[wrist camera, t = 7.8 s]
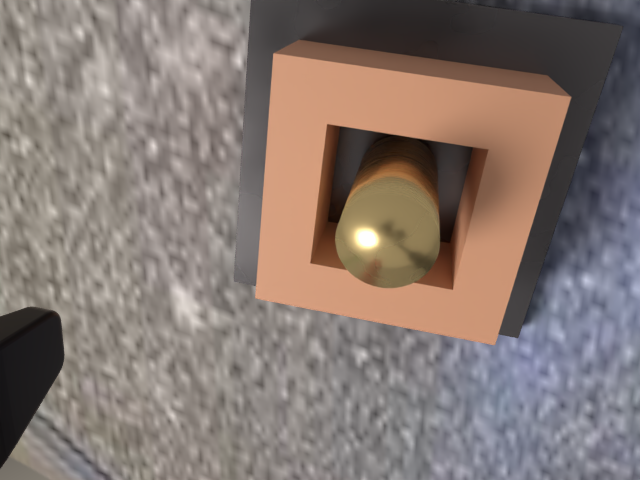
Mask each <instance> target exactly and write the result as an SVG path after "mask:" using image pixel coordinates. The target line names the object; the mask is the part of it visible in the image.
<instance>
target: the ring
mask: <svg viewBox="0 0 640 480" xmlns="http://www.w3.org/2000/svg"><path fill="white" fill-rule="evenodd" d="M570 100H571V96H570V95H569V94H568V93H566V92H565V91H564V90H563V89H562V88H561V87H560V86H559V85H558V84H556V83H555V82H554V81H553V80H552V79H551V78H550V77H549V76H548V75H541V74H534V73H528V72H521V71H514V70H507V69H500V68H493V67H486V66H479V65H472V64H465V63H458V62H451V61H444V60H437V59H430V58H423V57H416V56H409V55H402V54H395V53H388V52H381V51H374V50H367V49H360V48H353V47H346V46H339V45H332V44H325V43H318V42H311V41H304V40H298V41H296V42H294V43H292V44H290V45H288V46H286V47H284V48H282V49H281V50H279V51H277V52H275V53H273V65H272V79H271V92H270V106H269V119H268V133H267V146H266V160H265V173H264V187H263V201H262V214H261V228H260V241H259V255H258V268H257V282H256V295H255V298H256V299H261V300H266V301H271V302H276V303H282V304H287V305H292V306H297V307H302V308H307V309H312V310H317V311H322V312H328V313H333V314H338V315H343V316H348V317H353V318H358V319H363V320H369V321H374V322H379V323H384V324H389V325H394V326H399V327H404V328H409V329H415V330H420V331H425V332H430V333H435V334H440V335H445V336H450V337H455V338H461V339H466V340H471V341H476V342H481V343H486V344H491V345H495V343H496V340H497V337H498V333H499V330H500V327H501V324H502V320H503V317H504V314H505V311H506V307H507V304H508V301H509V298H510V294H511V291H512V288H513V285H514V282H515V278H516V275H517V272H518V269H519V265H520V262H521V259H522V256H523V252H524V249H525V246H526V243H527V239H528V236H529V233H530V230H531V226H532V223H533V220H534V217H535V213H536V210H537V207H538V204H539V200H540V197H541V194H542V191H543V187H544V184H545V181H546V178H547V174H548V171H549V168H550V165H551V161H552V158H553V155H554V152H555V149H556V145H557V142H558V139H559V136H560V132H561V129H562V126H563V123H564V119H565V116H566V113H567V110H568V106H569V103H570ZM340 126H343V127H350V128H356V129H362V130H368V131H375V132H381V133H387V134H394V135H400V136H406V137H412V138H419V139H425V140H431V141H438V142H444V143H450V144H456V145H463V146H469V147H473V150H472V154H471V158H470V162H469V166H468V170H467V174H466V179H465V183H464V187H463V191H462V195H461V199H460V204H459V208H458V212H457V216H456V220H455V224H454V228H453V233H452V237H451V241H450V243H446V242H440V248H439V254H438V257H437V259H436V261H435V263H434V265H433V267H432V268H431V269H430V270H429V272H428V273H427V274H426V275H425V276H423V277H422V278H421V279H419V280H418V281H416V282H414V283H412V284H409V285H407V286H403V287H398V288H381V287H376V286H372V285H369V284H366V283H364V282H362V281H360V280H359V279H357V278H356V277H354V276H353V275H352V274H351V273H350V272H349V271H348V270H347V269H346V268H345V266H344V265H343V264H342V262H341V260H340V258H339V256H338V253H337V249H336V243H335V236H336V230H337V226H338V223H333V222H328V214H329V207H330V199H331V192H332V184H333V176H334V169H335V161H336V153H337V146H338V138H339V131H340Z"/></svg>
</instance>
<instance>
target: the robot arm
mask: <svg viewBox="0 0 640 480" xmlns="http://www.w3.org/2000/svg"><path fill="white" fill-rule="evenodd" d="M63 362H64V345H63V335H62V325H61V319H60V316H59V314H58V313H57V312H55V311H53V310H48V309H43V308H38V307H27V308H24V309H21V310H18V311H15V312H12V313H9V314H6V315H3V316H0V468H1V467H2V466H3V464H4V463H5V461H6V460H7V459H8V457H9V455H10V454H11V452H12V451H13V449H14V448H15V446H16V444H17V443H18V441H19V439H20V438H21V436H22V434H23V433H24V431H25V429H26V428H27V426H28V424H29V423H30V421H31V419H32V418H33V416H34V414H35V413H36V411H37V409H38V408H39V406H40V404H41V403H42V401H43V399H44V398H45V396H46V394H47V393H48V391H49V389H50V388H51V386H52V384H53V383H54V381H55V379H56V378H57V376H58V374H59V372H60V371H61V368H62V366H63Z"/></svg>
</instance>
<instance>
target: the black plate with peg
mask: <svg viewBox="0 0 640 480" xmlns="http://www.w3.org/2000/svg"><path fill="white" fill-rule="evenodd" d="M622 29H623V26H621V25H617V24H611V23H604V22H596V21H589V20H582V19H575V18H568V17H561V16H554V15H546V14H539V13H532V12H525V11H518V10H511V9H504V8H496V7H489V6H482V5H475V4H468V3H461V2H454V1H447V0H251V9H250V26H249V42H248V58H247V74H246V91H245V107H244V123H243V140H242V156H241V172H240V188H239V205H238V221H237V237H236V253H235V270H234V282H239V283H244V284H249V285H254V286H256V282H257V268H258V255H259V241H260V228H261V214H262V201H263V187H264V173H265V160H266V146H267V133H268V119H269V106H270V92H271V79H272V65H273V53H275V52H277V51H279V50H281V49H282V48H284V47H286V46H288V45H290V44H292V43H294V42H296V41H298V40H304V41H311V42H318V43H325V44H332V45H339V46H346V47H353V48H360V49H367V50H374V51H381V52H388V53H395V54H402V55H409V56H416V57H423V58H430V59H437V60H444V61H451V62H458V63H465V64H472V65H479V66H486V67H493V68H500V69H507V70H514V71H521V72H528V73H534V74H541V75H548V76H549V77H550V78H551V79H552V80H553V81H554V82H555V83H556V84H558V85H559V86H560V87H561V88H562V89H563V90H564V91H565V92H566V93H568V94H569V95H570V96H571V100H570V103H569V106H568V110H567V113H566V116H565V119H564V123H563V126H562V129H561V132H560V136H559V139H558V142H557V145H556V149H555V152H554V155H553V158H552V161H551V165H550V168H549V171H548V174H547V178H546V181H545V184H544V187H543V191H542V194H541V197H540V200H539V204H538V207H537V210H536V213H535V217H534V220H533V223H532V226H531V230H530V233H529V236H528V239H527V243H526V246H525V249H524V252H523V256H522V259H521V262H520V265H519V269H518V272H517V275H516V278H515V282H514V285H513V288H512V291H511V294H510V298H509V301H508V304H507V307H506V311H505V314H504V317H503V320H502V324H501V327H500V330H499V333H498V334H500V335H505V336H510V337H515V338H518V337H519V334H520V331H521V328H522V325H523V322H524V319H525V316H526V313H527V310H528V307H529V304H530V301H531V298H532V295H533V292H534V289H535V286H536V283H537V280H538V278H539V275H540V272H541V269H542V266H543V263H544V260H545V257H546V254H547V251H548V248H549V245H550V242H551V239H552V236H553V233H554V230H555V227H556V224H557V221H558V218H559V215H560V212H561V209H562V207H563V204H564V201H565V198H566V195H567V192H568V189H569V186H570V183H571V180H572V177H573V174H574V171H575V168H576V165H577V162H578V159H579V156H580V153H581V150H582V147H583V144H584V141H585V138H586V136H587V133H588V130H589V127H590V124H591V121H592V118H593V115H594V112H595V109H596V106H597V103H598V100H599V97H600V94H601V91H602V88H603V85H604V82H605V79H606V76H607V73H608V70H609V68H610V65H611V62H612V59H613V56H614V53H615V50H616V47H617V44H618V41H619V38H620V35H621V32H622ZM472 150H473V147H469V146H463V145H456V144H450V143H444V142H438V141H431V140H425V139H419V138H412V137H406V136H400V135H394V134H387V133H381V132H375V131H368V130H362V129H356V128H350V127H343V126H340V131H339V138H338V146H337V153H336V161H335V169H334V176H333V184H332V192H331V199H330V207H329V214H328V222H333V223H338V226H337V230H336V236H335V243H336V249H337V253H338V256H339V258H340V260H341V262H342V264H343V265H344V266H345V268H346V269H347V270H348V271H349V272H350V273H351V274H352V275H353V276H354V277H356V278H357V279H359V280H360V281H362V282H364V283H366V284H369V285H372V286H376V287H381V288H398V287H403V286H407V285H409V284H412V283H414V282H416V281H418V280H419V279H421V278H422V277H423V276H425V275H426V274H427V273H428V272H429V270H430V269H431V268H432V267H433V265H434V263H435V261H436V259H437V257H438V254H439V248H440V242H446V243H450V241H451V237H452V233H453V228H454V224H455V220H456V216H457V212H458V208H459V204H460V199H461V195H462V191H463V187H464V183H465V179H466V174H467V170H468V166H469V162H470V158H471V154H472Z"/></svg>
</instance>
